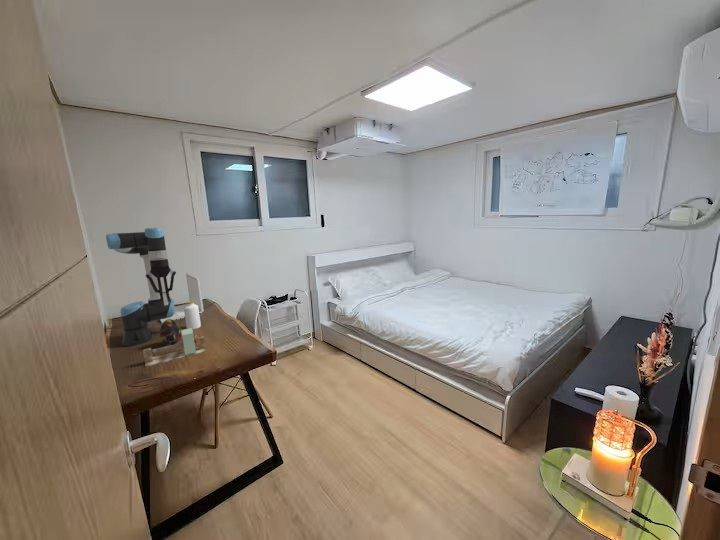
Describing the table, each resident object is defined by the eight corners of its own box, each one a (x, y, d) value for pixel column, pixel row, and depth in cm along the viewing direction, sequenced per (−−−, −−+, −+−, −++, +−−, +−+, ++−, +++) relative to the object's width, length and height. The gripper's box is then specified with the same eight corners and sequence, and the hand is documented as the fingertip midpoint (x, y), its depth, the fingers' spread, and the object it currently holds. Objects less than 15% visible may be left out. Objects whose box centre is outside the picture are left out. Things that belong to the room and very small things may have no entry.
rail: (145, 366, 142) (142, 351, 141) (146, 359, 150) (143, 344, 148) (206, 351, 157) (204, 337, 155) (204, 345, 164) (202, 332, 163)
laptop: (153, 312, 230) (147, 278, 225) (193, 304, 249) (188, 273, 244) (161, 323, 205) (154, 285, 200) (204, 313, 224) (199, 278, 219)
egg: (185, 343, 169) (181, 318, 166) (163, 349, 161) (159, 324, 159) (180, 338, 176) (176, 314, 174) (159, 344, 169) (155, 319, 166)
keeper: (185, 355, 151) (182, 335, 149) (184, 348, 159) (181, 330, 157) (196, 352, 154) (193, 332, 152) (194, 346, 161) (191, 327, 159)
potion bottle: (183, 329, 191) (179, 303, 187) (195, 325, 198) (191, 299, 195) (192, 331, 187) (188, 304, 184) (203, 326, 195) (200, 300, 192)
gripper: (141, 261, 137) (150, 309, 141) (174, 258, 144) (181, 303, 148) (143, 259, 143) (150, 305, 147) (174, 256, 150) (180, 300, 154)
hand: (166, 304), depth 148 cm, fingers closed
